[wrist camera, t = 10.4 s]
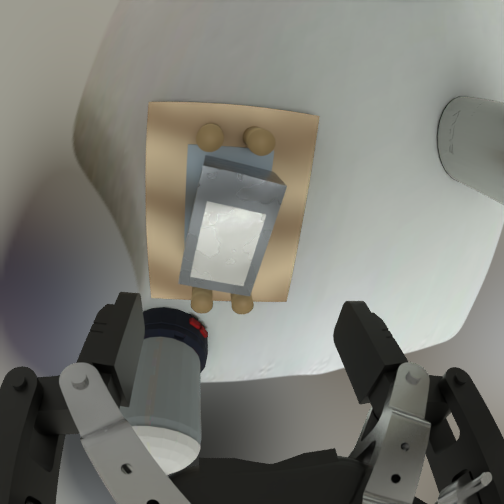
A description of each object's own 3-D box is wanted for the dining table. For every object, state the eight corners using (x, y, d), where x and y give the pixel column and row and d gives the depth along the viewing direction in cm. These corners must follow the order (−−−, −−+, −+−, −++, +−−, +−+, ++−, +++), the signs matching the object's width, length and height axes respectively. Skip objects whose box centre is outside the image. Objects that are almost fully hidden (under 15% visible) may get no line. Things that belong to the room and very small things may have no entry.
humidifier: (218, 319, 28) (247, 599, 6) (195, 370, 31) (206, 589, 9) (136, 297, 26) (87, 587, 4) (126, 352, 29) (96, 576, 7)
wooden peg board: (152, 102, 18) (135, 100, 14) (314, 115, 20) (338, 118, 16) (153, 290, 25) (144, 324, 21) (283, 293, 27) (295, 327, 23)
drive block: (274, 172, 20) (287, 186, 17) (244, 267, 24) (250, 297, 20) (205, 154, 19) (203, 165, 16) (182, 255, 23) (177, 284, 19)
